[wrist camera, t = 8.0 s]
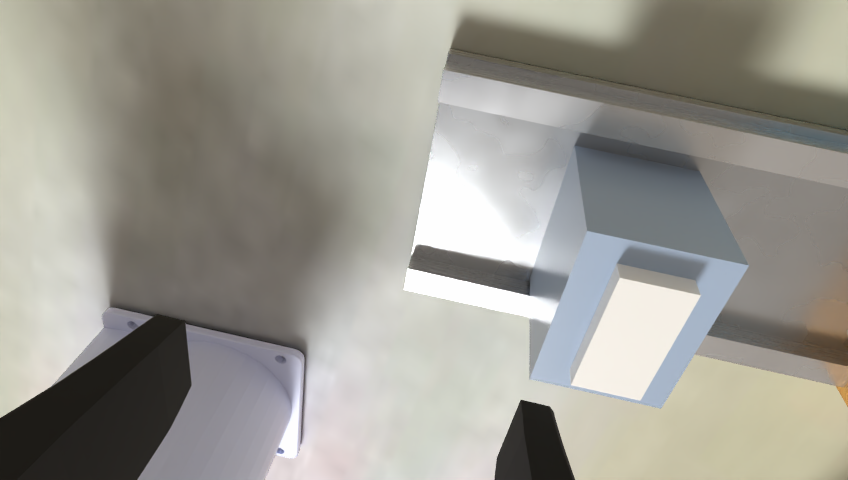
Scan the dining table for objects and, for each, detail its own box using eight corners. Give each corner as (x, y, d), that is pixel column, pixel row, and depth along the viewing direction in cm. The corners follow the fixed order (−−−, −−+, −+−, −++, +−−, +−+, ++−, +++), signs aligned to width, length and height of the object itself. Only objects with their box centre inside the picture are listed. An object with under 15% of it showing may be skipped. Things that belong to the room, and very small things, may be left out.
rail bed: (409, 273, 23) (391, 334, 20) (450, 48, 18) (434, 86, 15) (863, 374, 22) (912, 452, 19) (1044, 171, 17) (1149, 236, 14)
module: (529, 277, 21) (529, 394, 17) (574, 145, 18) (589, 244, 14) (635, 301, 21) (664, 424, 17) (699, 171, 18) (757, 280, 13)
